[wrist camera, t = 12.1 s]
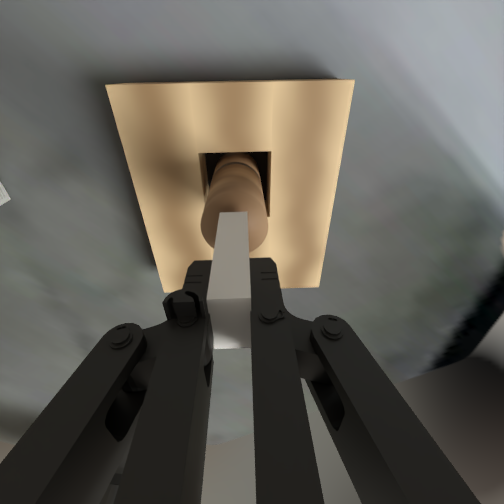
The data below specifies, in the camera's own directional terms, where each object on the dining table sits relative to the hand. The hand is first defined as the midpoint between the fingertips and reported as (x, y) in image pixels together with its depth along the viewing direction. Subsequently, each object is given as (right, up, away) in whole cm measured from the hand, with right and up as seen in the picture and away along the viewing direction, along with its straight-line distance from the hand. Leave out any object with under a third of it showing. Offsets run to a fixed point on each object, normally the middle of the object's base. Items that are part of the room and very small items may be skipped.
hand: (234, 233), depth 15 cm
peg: (0, +6, +9) cm, 11 cm away
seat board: (0, +4, +10) cm, 11 cm away
